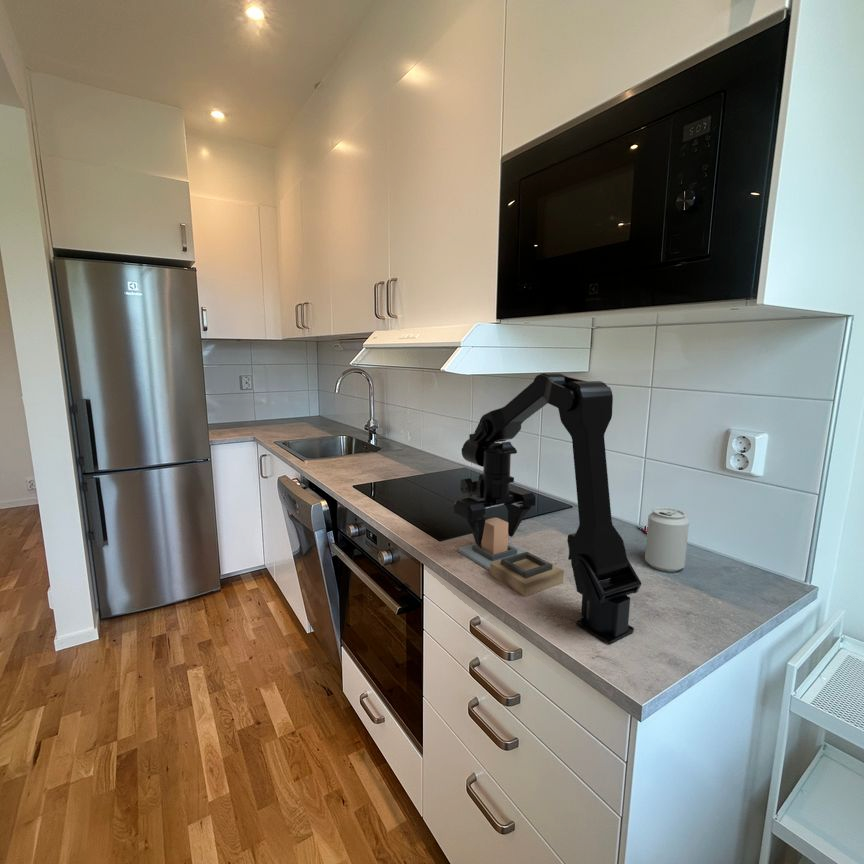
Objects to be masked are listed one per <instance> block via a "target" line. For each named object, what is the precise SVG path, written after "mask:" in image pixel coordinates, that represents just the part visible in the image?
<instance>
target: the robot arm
mask: <svg viewBox="0 0 864 864" xmlns="http://www.w3.org/2000/svg"><path fill="white" fill-rule="evenodd" d="M613 401H614V395H613V391H612V389H611V387H610V386H608V385H607V384H606V383H605V382H603V381H601V380H589V381H586V380H584V379H583V380H582V379H578V378H574V377H570V376H567V375H566V374H565V375H564V374H562V373H560V372H556V373H555V372H548V373H547V372H546V373H539V374H538V375H536V376H535V378H534V380H533V381H532V382H531V383H530V384H529V385H527V386H526V387H525V388H524V389H523V390H522V391H521V392H519V393H518V394H517V395H516V396H515V397H514V398H513V399H511V400H510V401H509V402H508V403H506V404H505V405H504V406H502V407H500V408H497V409H496V408H495V409H494V410H490V411H489V412H486V413H485V414H483V415H481V417H480V419H479V422H478V425H477V426H476V429H475V430H474V432H473V433H469V435H468V437H469V438H468V439H467V440H466V441H465V442H464V443H463V445H462V448H461V455H462V458H463V459H464V460H465V461H466V462H469V463H471V464H474V465H477V466H479V467H483V469H482V470H483V471H482V472H483V473H481V474H479V476H478V480H475V481H473V479H472V478H471V477H469V478H463V479H460V486H459V487H460V492H461V493H462V494H464V495H465V494H467V497H465V498H461V499H457V500H456V501H455V502H454V504H453V513H455V514H456V515H459V516H460V517H461V518H463V519H465V520H466V521H467V523H468V525H469V527H470V530H471V533H472V535H473V538H474V541H475V543H476V544H477V545H481V542H482V537H483V532H484V526H485V520H487V519H486V517H484V515H485V514H486V510H488V509H489V510H490V509H493V508H498V507H503V506H505V507H506V509H507V522H508V537H511V538H512V537H514V535H515V534H516V532H517V529H518V528H519V526H520V525H521V523H522V521H523V519H524V518H525V517H526V515H527V513H528V512H529V511H531V510H532V507H533V506H536V495H535V494H534V492H532V491H529V490H527V489H524V488H520V487H517V488H511V489H510V487H511V486H510V485H511V484H510V483H514V482H515V477H514V476H511V458H512V457H511V455H515V454H517V453H518V451H517V449H516V447H515V446H513V445H512V444H513V443H512V442H511V441H509V440H513V439H514V438H515V437H516V436H517V435H518V434H519V432H520V431H521V430H522V424H523V423H524V422H525V421H527V419H528V418H530V417H532V416H533V415H534V414H535V413H536V412H539V410H541V409H542V408H543V407H544V406H546V405H548V404H549V405H551V406H552V407H555V408H557V409H558V415H559V419H560V422H561V424H562V425H563V426H564V428H565V430H566V431H567V432H568V434H569V435H570V437H571V440H572V441H571V442H572V443H571V444H572V454H573V464H574V475H575V485H576V486H575V488H576V497H577V498H576V499H577V508H578V509H577V511H578V521H579V522H578V523H579V525H578V527H577V529H576V532H575V533H570V534H568V535H567V547H568V557H567V558H568V560H569V561H570V563H571V568H572V571H573V572H572V573H573V578H574V583H575V588H576V592H577V593H579V594H580V595H581V598H582V599H581V611H580V612H581V613H580V616H581V618H579V619H576V620H575V624H576V625H577V626H578V627H580V628H581V629H583V630H585V631H587V632H588V633H590V634H591V635H593V636H595V637H596V638H598V639H600V640H601V641H603V642H605V643H606V644H609V645H610V644H612V643H614V642H616V641H618V640H620V639H622V638H624V637H626V636H628V635H631V634H632V633H634V632H635V629H634V627H633V626H631V625H629V623H630V622H629V619H630V618H629V617H630V606H631V597H629V595H631V594H637V593H638V592H639V591H640V588H641V586H642V582H641V580H640V578H639V576H638V574H637V573H636V571H635V569H634V568H633V566H632V564H631V563H630V561H629V559H628V556H627V551H626V547H625V543H624V540H623V537H622V536H621V535H620V533H619V532H618V530H617V529H616V527H615V526H614V525H613V521H612V510H611V509H612V508H611V498H610V488H609V476H608V467H607V466H608V465H607V453H606V443H605V441H606V440H605V433H606V432H607V429H608V427H609V425H610V422H611V420H612V417H613V403H614V402H613ZM507 440H508V441H507ZM500 442H501V443H500ZM472 496H476V498H478V499H482V500H479V501H478V500H477V499H475V498H471V497H472Z"/></svg>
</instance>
